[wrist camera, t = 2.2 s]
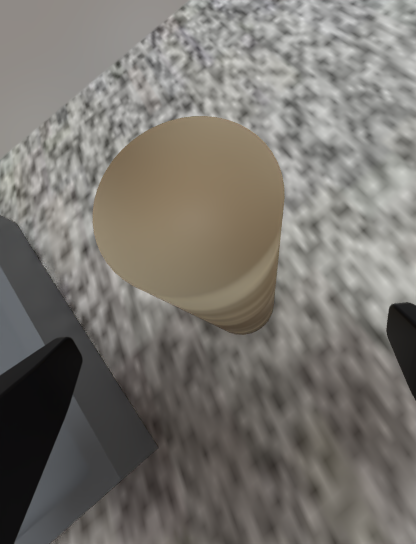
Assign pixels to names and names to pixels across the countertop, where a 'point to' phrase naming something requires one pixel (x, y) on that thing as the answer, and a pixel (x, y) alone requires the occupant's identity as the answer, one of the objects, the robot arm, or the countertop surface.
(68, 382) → the robot arm
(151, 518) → the countertop surface
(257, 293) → the birch peg
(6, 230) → the charcoal box
